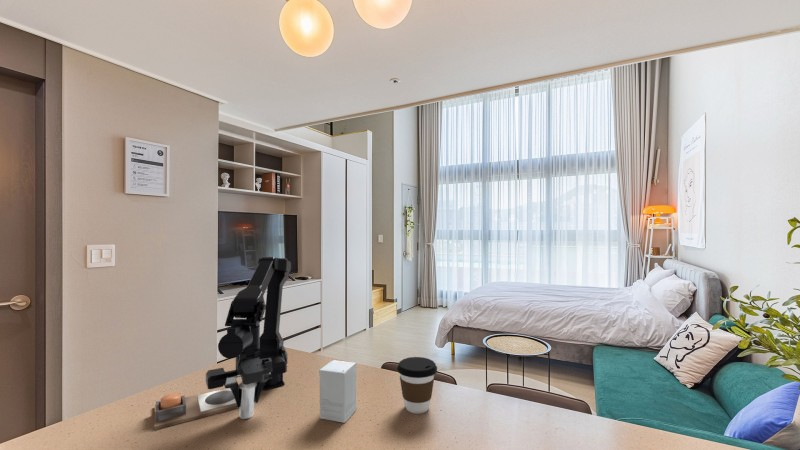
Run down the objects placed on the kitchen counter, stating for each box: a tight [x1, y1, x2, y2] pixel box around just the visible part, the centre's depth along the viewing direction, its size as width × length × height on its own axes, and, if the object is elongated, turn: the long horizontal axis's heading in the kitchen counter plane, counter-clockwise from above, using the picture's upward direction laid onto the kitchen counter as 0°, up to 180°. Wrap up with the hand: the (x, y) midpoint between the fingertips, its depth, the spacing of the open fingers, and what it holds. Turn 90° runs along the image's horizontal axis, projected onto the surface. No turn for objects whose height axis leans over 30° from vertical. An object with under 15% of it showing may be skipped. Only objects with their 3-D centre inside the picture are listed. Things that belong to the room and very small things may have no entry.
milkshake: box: [238, 380, 257, 420], centre depth 92 cm, size 4×5×10 cm
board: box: [153, 387, 239, 431], centre depth 97 cm, size 22×13×3 cm, turn 124°
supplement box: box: [318, 359, 358, 424], centre depth 93 cm, size 7×7×13 cm
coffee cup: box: [396, 356, 438, 415], centre depth 96 cm, size 11×11×12 cm
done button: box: [160, 392, 182, 410], centre depth 92 cm, size 4×4×3 cm
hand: (247, 404), depth 92 cm, fingers closed on milkshake, 4 cm apart
